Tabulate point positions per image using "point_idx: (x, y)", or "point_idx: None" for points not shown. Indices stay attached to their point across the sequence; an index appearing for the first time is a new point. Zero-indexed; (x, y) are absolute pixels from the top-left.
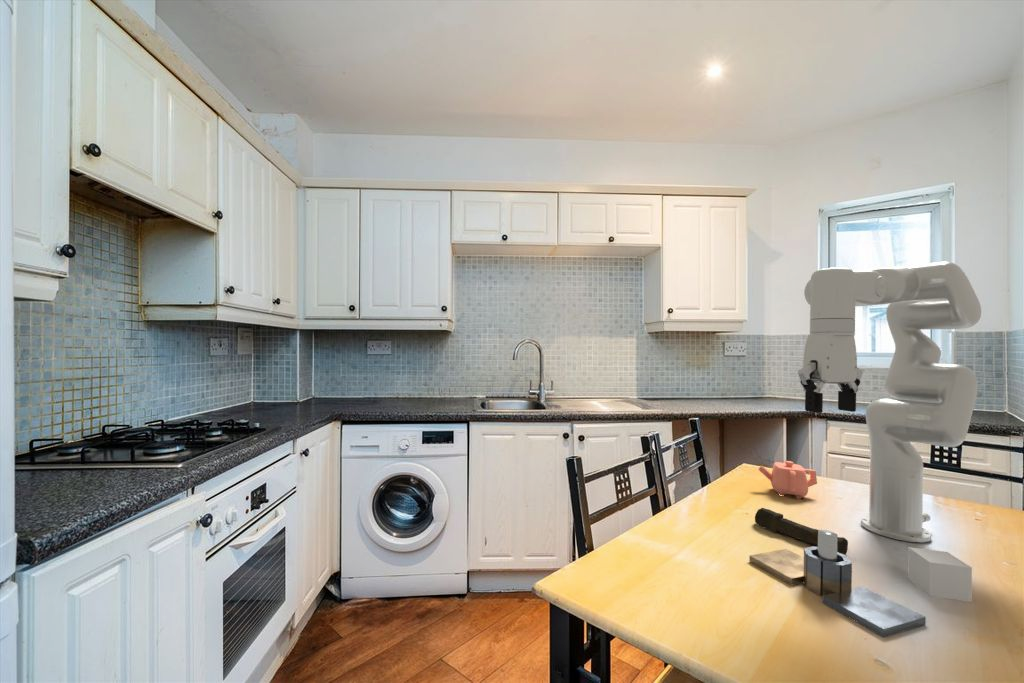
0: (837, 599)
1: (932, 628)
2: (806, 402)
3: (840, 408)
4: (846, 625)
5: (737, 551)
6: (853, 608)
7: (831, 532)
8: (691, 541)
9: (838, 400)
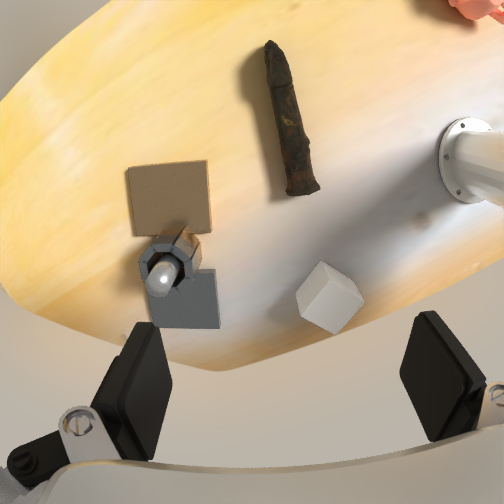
0: None
1: (221, 328)
2: (109, 367)
3: (416, 327)
4: (137, 302)
5: (138, 134)
6: (155, 299)
7: (165, 286)
8: (94, 93)
9: (438, 346)
